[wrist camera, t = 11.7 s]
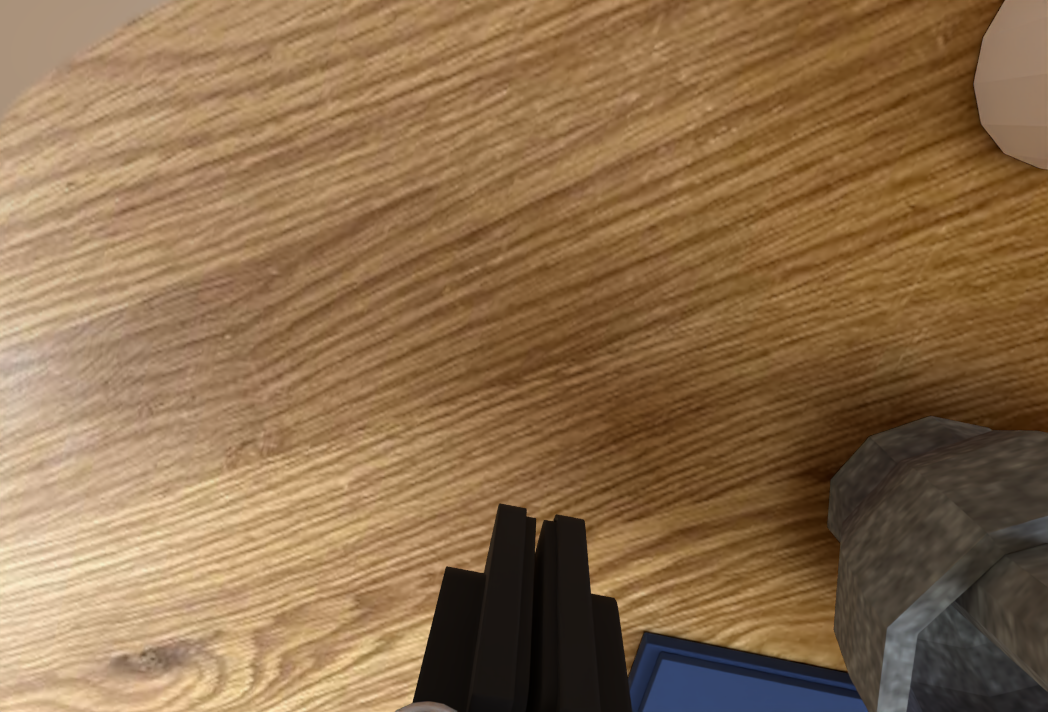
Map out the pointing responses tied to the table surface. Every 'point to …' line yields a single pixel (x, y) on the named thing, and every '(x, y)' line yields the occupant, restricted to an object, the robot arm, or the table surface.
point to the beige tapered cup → (1016, 81)
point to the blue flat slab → (731, 681)
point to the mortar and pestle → (944, 568)
